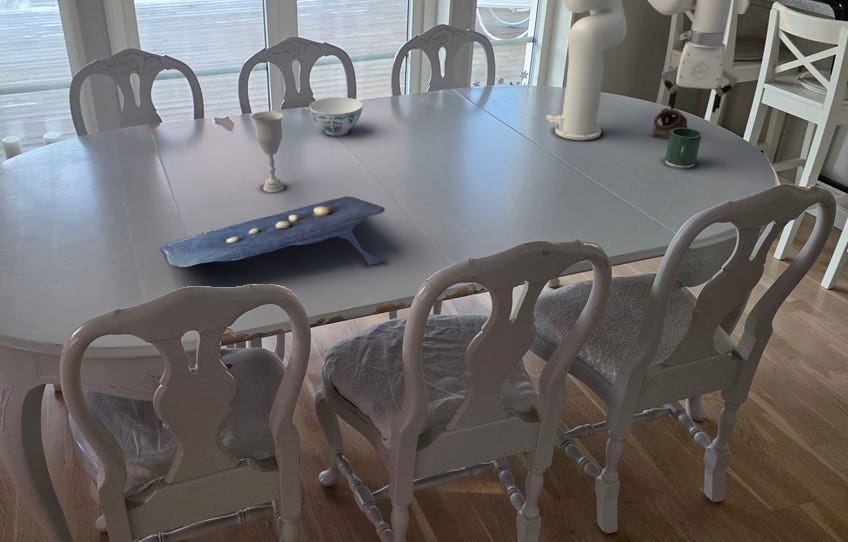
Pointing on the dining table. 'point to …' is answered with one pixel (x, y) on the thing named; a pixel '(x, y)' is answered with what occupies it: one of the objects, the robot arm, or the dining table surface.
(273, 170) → the chalice
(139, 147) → the dining table surface
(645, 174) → the dining table surface
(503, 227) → the dining table surface
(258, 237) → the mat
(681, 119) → the broken pottery
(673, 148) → the green mug
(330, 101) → the chinaware
